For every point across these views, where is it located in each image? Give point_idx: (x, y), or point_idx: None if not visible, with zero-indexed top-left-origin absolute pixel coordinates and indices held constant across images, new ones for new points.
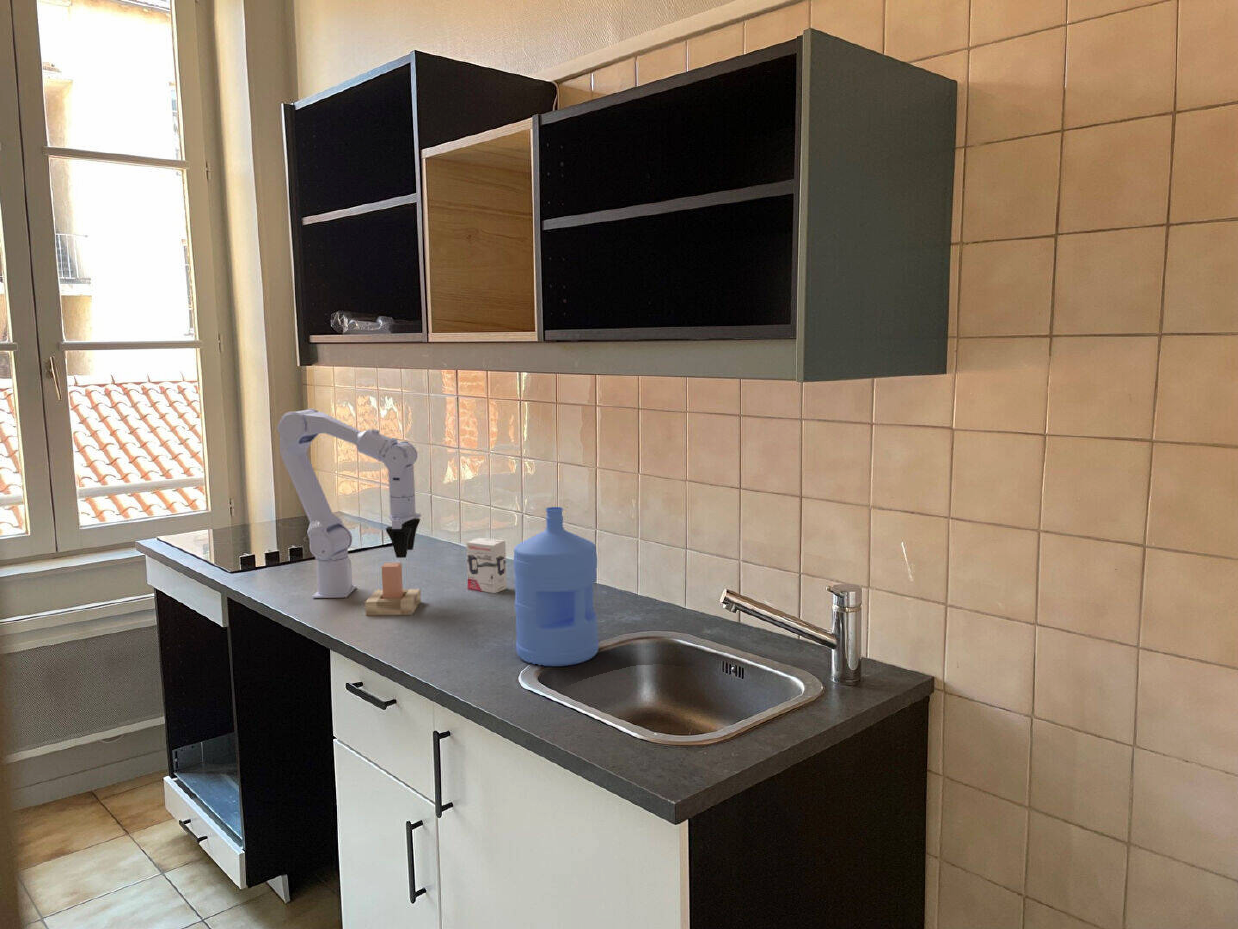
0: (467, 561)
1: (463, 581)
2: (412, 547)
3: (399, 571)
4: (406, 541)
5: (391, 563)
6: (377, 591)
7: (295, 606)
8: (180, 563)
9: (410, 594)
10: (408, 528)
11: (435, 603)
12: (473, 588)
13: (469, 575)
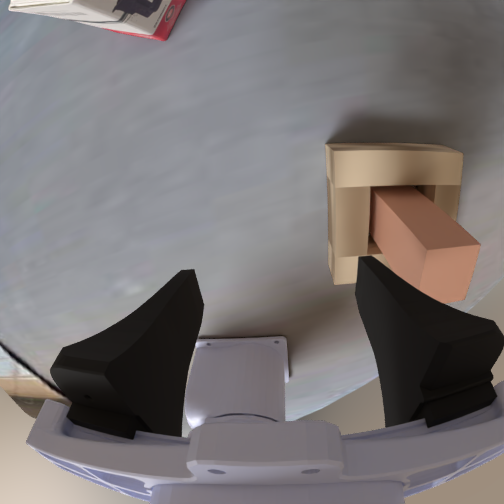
0: (125, 18)
1: (87, 93)
2: (191, 275)
3: (451, 233)
4: (429, 300)
5: (428, 285)
6: (354, 276)
7: (335, 383)
8: None
9: (400, 169)
10: (469, 358)
11: (341, 94)
12: (175, 19)
13: (153, 23)
